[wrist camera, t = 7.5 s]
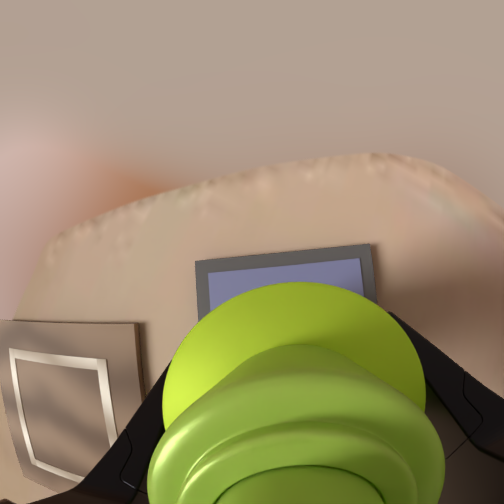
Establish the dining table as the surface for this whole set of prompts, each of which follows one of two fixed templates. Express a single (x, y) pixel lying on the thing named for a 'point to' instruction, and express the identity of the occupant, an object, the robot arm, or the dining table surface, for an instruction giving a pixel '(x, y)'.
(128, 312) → the dining table surface
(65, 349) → the board
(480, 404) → the robot arm
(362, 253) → the ink pad
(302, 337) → the soap dispenser
